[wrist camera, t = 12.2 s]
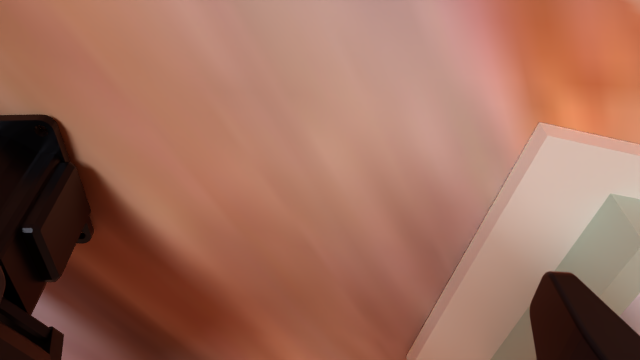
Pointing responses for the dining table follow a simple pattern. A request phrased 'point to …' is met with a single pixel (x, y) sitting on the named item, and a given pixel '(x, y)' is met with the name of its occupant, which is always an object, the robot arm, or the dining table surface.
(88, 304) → the dining table surface
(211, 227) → the dining table surface
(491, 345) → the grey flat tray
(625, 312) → the smoothie
